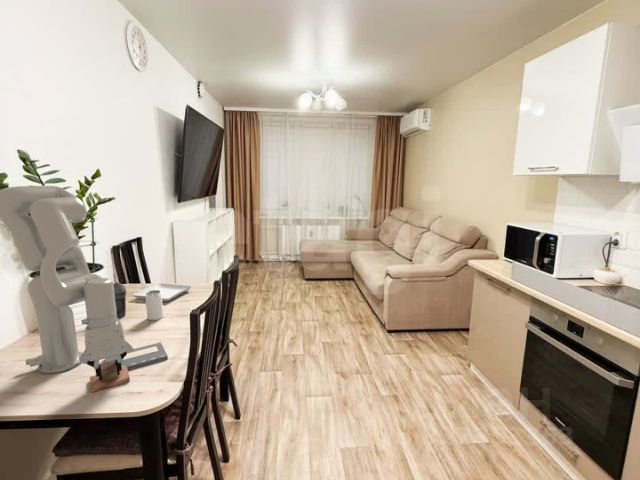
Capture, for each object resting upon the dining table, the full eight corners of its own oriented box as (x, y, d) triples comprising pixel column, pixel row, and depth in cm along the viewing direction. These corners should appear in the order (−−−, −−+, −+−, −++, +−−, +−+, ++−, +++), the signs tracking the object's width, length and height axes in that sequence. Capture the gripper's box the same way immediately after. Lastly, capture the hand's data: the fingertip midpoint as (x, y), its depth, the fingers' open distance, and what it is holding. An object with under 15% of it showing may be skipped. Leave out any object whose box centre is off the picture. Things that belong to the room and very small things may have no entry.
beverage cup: (116, 320, 152) (111, 276, 148) (107, 317, 155) (102, 274, 152) (132, 315, 158) (127, 272, 154) (123, 312, 161) (119, 270, 158)
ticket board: (107, 375, 110) (106, 371, 110) (104, 359, 120) (104, 356, 119) (167, 358, 120) (167, 355, 120) (161, 345, 130) (160, 342, 129)
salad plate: (192, 291, 192) (192, 285, 191) (168, 304, 172) (167, 298, 171) (159, 288, 197) (159, 282, 196) (131, 301, 176) (131, 294, 176)
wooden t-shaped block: (91, 392, 101) (89, 376, 100) (90, 380, 107) (88, 364, 106) (129, 380, 107) (128, 365, 106) (127, 370, 113) (125, 355, 112)
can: (144, 319, 153) (141, 293, 151) (156, 314, 159) (153, 289, 157) (155, 321, 151) (152, 295, 149) (166, 316, 157) (164, 290, 154)
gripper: (68, 331, 96) (76, 391, 99) (135, 317, 105) (141, 372, 108) (68, 322, 102) (76, 378, 105) (132, 309, 111) (138, 362, 114)
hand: (109, 375), depth 107 cm, fingers closed on wooden t-shaped block, 4 cm apart
